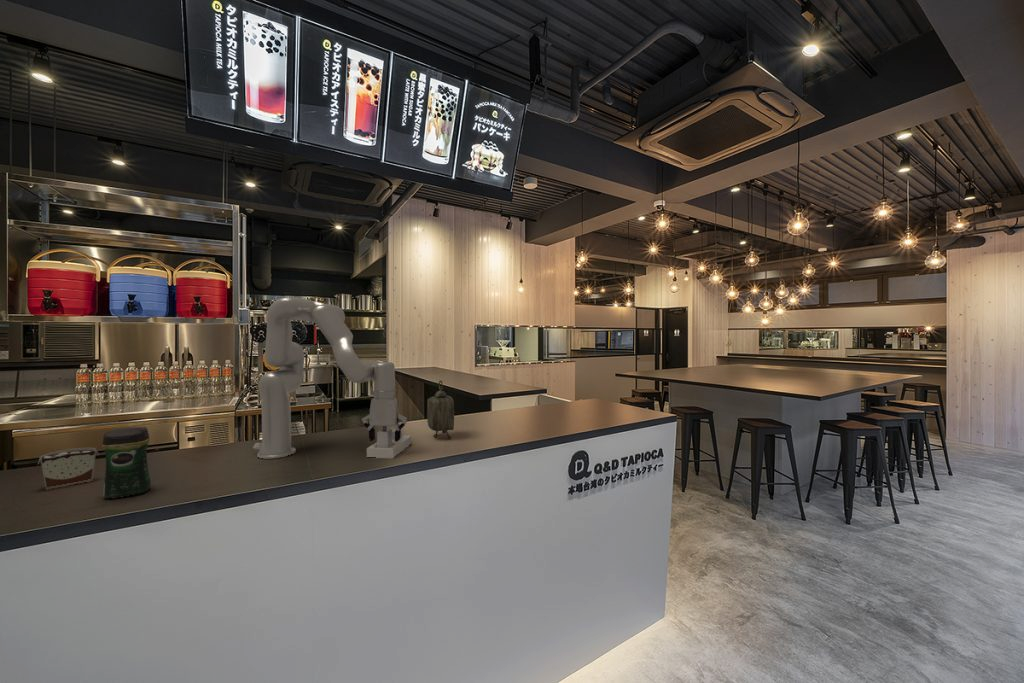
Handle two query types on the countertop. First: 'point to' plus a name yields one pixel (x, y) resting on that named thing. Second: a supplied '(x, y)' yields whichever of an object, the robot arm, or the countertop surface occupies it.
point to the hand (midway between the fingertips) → (384, 440)
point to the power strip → (391, 451)
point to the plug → (384, 438)
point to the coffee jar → (126, 462)
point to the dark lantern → (440, 412)
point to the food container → (68, 466)
